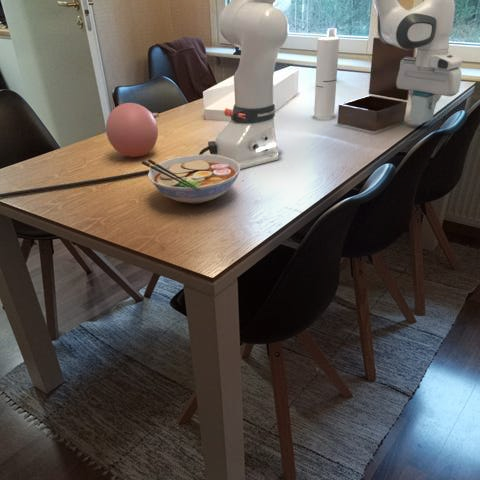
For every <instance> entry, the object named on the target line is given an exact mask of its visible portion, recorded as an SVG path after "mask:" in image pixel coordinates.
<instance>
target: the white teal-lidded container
mask: <svg viewBox="0 0 480 480" xmlns="http://www.w3.org/2000/svg"><path fill="white" fill-rule="evenodd" d="M412 95H413V97H412V103H410V111H409V116H408V122H409V121H410V122H415V123H419V124H424V123H426V122H429V121H431V120H433V119H434V115H435V109H429V103H431V102H433V100H434V99H435V98H433V97H434V94H430V93H424V92H418V91H416V92H413V93H412Z"/></svg>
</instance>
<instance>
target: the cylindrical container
mask: <svg viewBox="0 0 480 480" xmlns="http://www.w3.org/2000/svg"><path fill="white" fill-rule="evenodd" d="M339 49H340V37H338V36H337V37H327V36H324V37H318V38H317V45H316V63H315V64H316V67H315V85H314V86H315V87H314V88H315V89H314V113H313V116H314V117H315V118H320V119H328V118H332V117H334V116H335V107H336V106H335V105H336V93H337V77H338V65H339V64H338V62H339V52H340V51H339Z"/></svg>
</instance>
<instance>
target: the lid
mask: <svg viewBox="0 0 480 480" xmlns="http://www.w3.org/2000/svg"><path fill="white" fill-rule="evenodd" d="M415 53H416V48H414V49H409V50H405V49H401V48H398V47H395V46H388V45H386V44H384V43H383V42H382V41H381V40H380V38H376V37H373V41H372V52H371V61H370V62H371V63H370V74H369V85H368V95H372V96H377V97H383V98H388V99H394V100H400V101H405V102H408V101H409V98H410V95H409V92H410V90H405V89H399V88H397V86H396V82H397V77H398V73H399V70H400V62H401V60H402V59H403V58H405V57H406V56H409V57H415ZM404 60H405V59H404Z"/></svg>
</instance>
